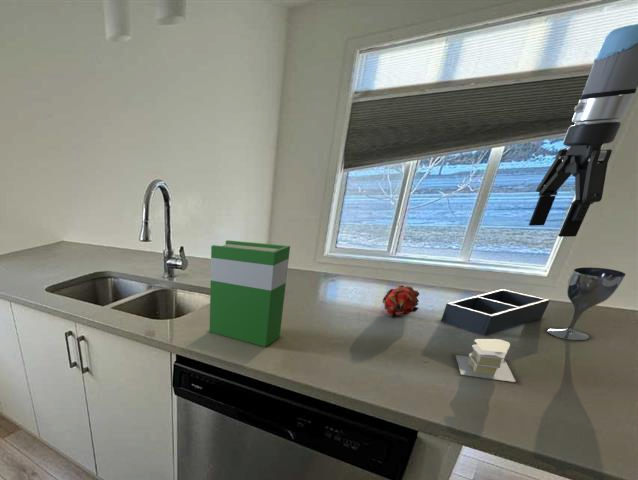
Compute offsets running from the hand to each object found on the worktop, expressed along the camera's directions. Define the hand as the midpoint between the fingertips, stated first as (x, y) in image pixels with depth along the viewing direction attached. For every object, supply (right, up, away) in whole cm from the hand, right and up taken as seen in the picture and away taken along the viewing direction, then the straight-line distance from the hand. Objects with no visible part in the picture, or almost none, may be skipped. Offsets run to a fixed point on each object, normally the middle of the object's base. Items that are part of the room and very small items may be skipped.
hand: (550, 230), depth 94 cm
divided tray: (-1, -19, +14) cm, 23 cm away
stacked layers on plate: (-21, -32, -6) cm, 39 cm away
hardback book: (-66, -22, +19) cm, 72 cm away
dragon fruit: (-21, -16, +23) cm, 34 cm away
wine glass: (+8, -24, +4) cm, 26 cm away
